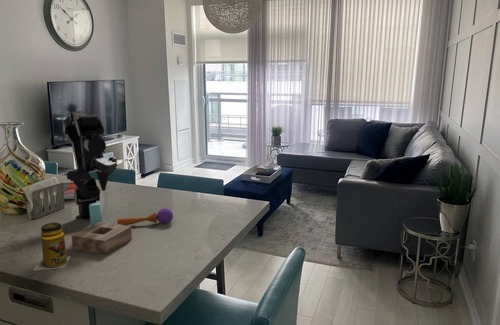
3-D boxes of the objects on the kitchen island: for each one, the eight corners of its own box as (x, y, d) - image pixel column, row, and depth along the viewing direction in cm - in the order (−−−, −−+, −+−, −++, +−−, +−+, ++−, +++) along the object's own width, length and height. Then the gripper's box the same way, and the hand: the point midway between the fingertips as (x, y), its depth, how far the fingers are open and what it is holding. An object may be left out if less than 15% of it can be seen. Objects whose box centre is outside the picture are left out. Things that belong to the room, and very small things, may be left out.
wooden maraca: (118, 214, 142) (171, 206, 146) (120, 229, 143) (173, 221, 147) (115, 216, 137) (171, 208, 141) (118, 232, 137) (173, 224, 141)
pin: (88, 229, 137) (86, 205, 136) (96, 225, 141) (94, 202, 139) (97, 230, 136) (95, 206, 134) (105, 226, 140) (103, 203, 138)
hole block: (72, 248, 121) (71, 235, 120) (100, 233, 133) (99, 221, 132) (106, 254, 117) (104, 241, 116) (131, 238, 129) (131, 226, 128)
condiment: (65, 267, 109) (60, 228, 106) (32, 271, 107) (27, 231, 105) (70, 256, 116) (66, 219, 113) (40, 259, 114) (35, 222, 112)
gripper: (90, 156, 122) (95, 202, 125) (126, 147, 139) (129, 188, 142) (63, 155, 125) (68, 200, 128) (101, 147, 143) (105, 187, 146)
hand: (94, 193), depth 136 cm, fingers open, 9 cm apart
